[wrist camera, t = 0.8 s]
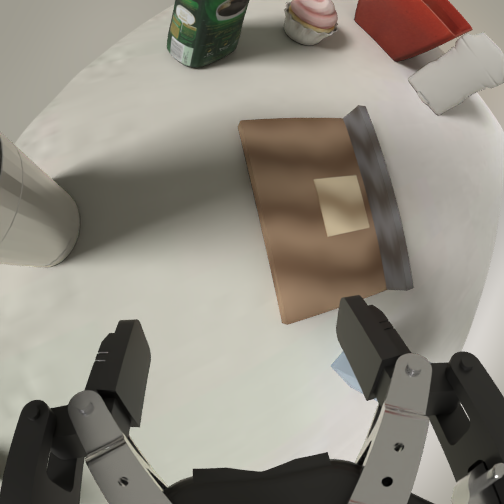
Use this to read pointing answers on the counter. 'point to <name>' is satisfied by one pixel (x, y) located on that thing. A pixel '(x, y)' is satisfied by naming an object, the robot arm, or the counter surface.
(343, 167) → the shelf
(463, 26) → the plant pot
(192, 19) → the coffee jar
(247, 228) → the counter surface
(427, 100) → the tall pale column
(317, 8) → the cupcake
